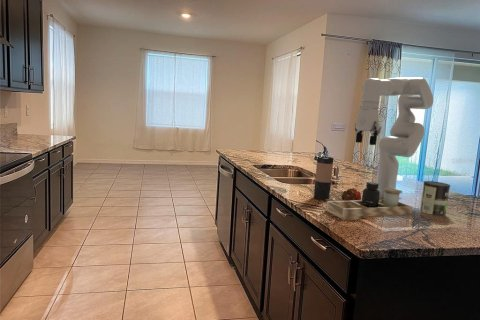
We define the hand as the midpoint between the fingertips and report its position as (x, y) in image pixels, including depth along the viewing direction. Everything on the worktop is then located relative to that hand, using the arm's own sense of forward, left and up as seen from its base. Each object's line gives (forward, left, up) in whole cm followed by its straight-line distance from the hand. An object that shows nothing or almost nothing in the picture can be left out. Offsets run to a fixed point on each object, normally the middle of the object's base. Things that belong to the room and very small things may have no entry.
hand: (365, 143), depth 167 cm
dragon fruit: (+6, +2, -29) cm, 29 cm away
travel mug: (+14, -10, -28) cm, 33 cm away
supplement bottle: (+7, +16, -27) cm, 32 cm away
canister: (-4, +16, -27) cm, 32 cm away
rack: (+7, +16, -28) cm, 33 cm away
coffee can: (-23, +21, -28) cm, 42 cm away
